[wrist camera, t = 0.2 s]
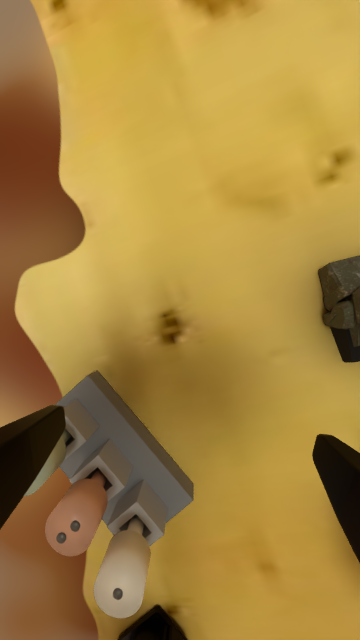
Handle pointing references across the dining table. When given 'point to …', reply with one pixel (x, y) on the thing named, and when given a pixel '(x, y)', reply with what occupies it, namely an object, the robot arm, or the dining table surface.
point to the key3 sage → (51, 463)
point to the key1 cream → (123, 572)
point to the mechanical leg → (343, 305)
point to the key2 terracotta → (77, 516)
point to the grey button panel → (121, 459)
